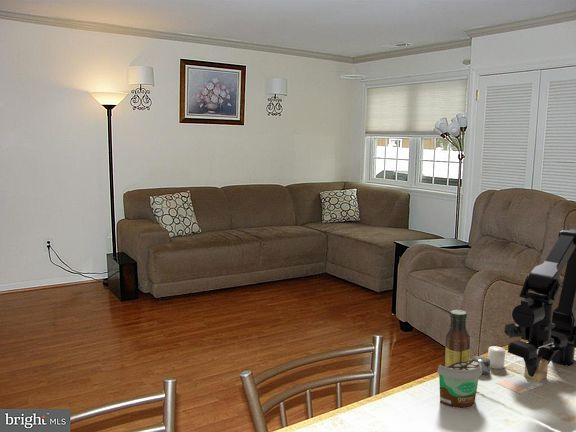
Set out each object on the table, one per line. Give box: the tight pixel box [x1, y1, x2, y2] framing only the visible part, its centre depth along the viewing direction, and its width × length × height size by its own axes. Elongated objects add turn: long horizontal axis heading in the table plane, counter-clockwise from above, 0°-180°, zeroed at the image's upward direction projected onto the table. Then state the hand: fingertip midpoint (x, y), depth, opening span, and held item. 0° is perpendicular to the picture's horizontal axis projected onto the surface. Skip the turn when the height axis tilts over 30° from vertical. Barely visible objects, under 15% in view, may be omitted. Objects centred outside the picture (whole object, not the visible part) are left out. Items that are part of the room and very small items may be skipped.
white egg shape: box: [487, 345, 506, 370], centre depth 149 cm, size 4×4×6 cm
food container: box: [436, 356, 483, 409], centre depth 128 cm, size 12×6×10 cm, turn 117°
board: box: [496, 372, 554, 395], centre depth 140 cm, size 14×7×1 cm, turn 123°
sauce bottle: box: [444, 309, 471, 367], centre depth 138 cm, size 6×6×20 cm
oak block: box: [523, 358, 549, 382], centre depth 142 cm, size 4×4×5 cm
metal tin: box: [470, 355, 491, 376], centre depth 146 cm, size 5×5×4 cm
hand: (535, 374), depth 142 cm, fingers closed on oak block, 4 cm apart
